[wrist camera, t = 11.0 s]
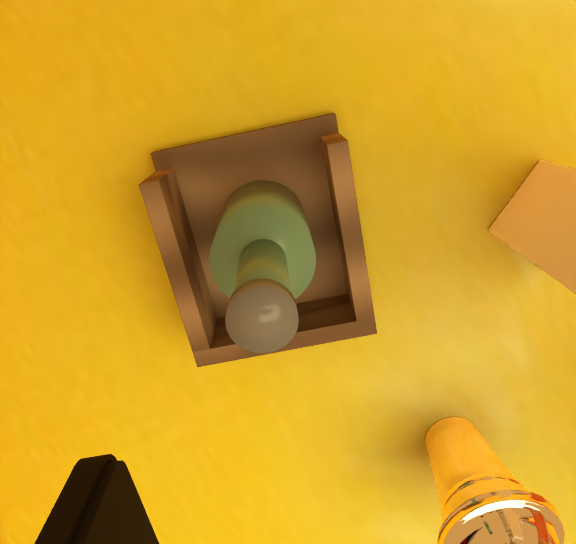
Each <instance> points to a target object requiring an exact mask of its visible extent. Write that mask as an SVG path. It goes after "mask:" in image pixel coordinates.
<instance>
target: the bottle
mask: <svg viewBox="0 0 576 544" xmlns="http://www.w3.org/2000/svg"><path fill="white" fill-rule="evenodd" d="M315 266H316V253H315V248H314V245H313V241H312V238H311V234H310V231H309V227H308V224H307V220H306V217H305V213H304V210H303V207H302V204H301V202H300V201H299V199H298V197H297V196H296V195H295V194H294V193H293V192H292V191H291V190H290V189H289V188H287V187H286V186H284V185H282V184H280V183H277V182H274V181H268V180H258V181H253V182H249V183H247V184H245V185H243V186H241V187H239V188H238V189H237V190H236V191H234V193H233V194H232V195H231V196H230V197H229V199H228V200H227V202H226V204H225V207H224V210H223V213H222V216H221V219H220V222H219V225H218V228H217V231H216V234H215V237H214V240H213V243H212V246H211V250H210V269H211V273H212V276H213V278H214V280H215V282H216V284H217V286H218V287H219V288H220V290H221V291H222V292H223V293H224V294H225V295H226V296H227V297H228V298H230V299H229V301H228V306H227V311H226V318H225V323H226V329H227V332H228V334H229V336H230V337H231V339H232V340H233V341H234V342H235V343H236V344H237V345H238V346H240V347H241V348H243V349H245V350H247V351H250V352H255V353H269V352H273V351H276V350H279V349H281V348H282V347H284V346H285V345H287V344H288V343H289V342H290V341H291V340H292V338H293V337H294V335H295V333H296V331H297V328H298V311H297V305H296V301H295V299H296V298H298V297H299V296H300V295H301V294H302V293H303V292H304V291H305V289H306V288H307V287H308V285H309V284H310V282H311V280H312V278H313V275H314V271H315Z"/></svg>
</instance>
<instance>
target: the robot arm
mask: <svg viewBox="0 0 576 544" xmlns="http://www.w3.org/2000/svg"><path fill="white" fill-rule="evenodd" d="M35 544H159V542H158V540H157V537H156V535H155V533H154V530H153V528H152V525H151V523H150V521H149V518H148V516H147V514H146V511H145V509H144V506H143V504H142V502H141V499H140V497H139V494H138V492H137V490H136V487H135V485H134V482H133V480H132V478H131V475H130V473H129V471H128V468H127V466H126V464H125V462H123V461H117V459H116V458H115V456H113V455H112V454H107V455H101V456H95V457H89V458H83V459H80V460H79V461H78V462H77V463H76V465H75V466H74V468H73V470H72V472H71V474H70V476H69V478H68V480H67V482H66V484H65V486H64V487H63V489H62V491H61V493H60V495H59V497H58V499H57V501H56V503H55V505H54V507H53V509H52V511H51V513H50V515H49V517H48V519H47V521H46V522H45V524H44V526H43V528H42V530H41V532H40V534H39V536H38V538H37V540H36V542H35Z"/></svg>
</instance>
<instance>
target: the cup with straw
mask: <svg viewBox="0 0 576 544" xmlns="http://www.w3.org/2000/svg"><path fill="white" fill-rule="evenodd" d="M425 444H426V447H427V449H428V456H429V460H430V464H431V468H432V472H433V476H434V480H435V485H436V489H437V493H438V497H439V501H440V505H441V517H442V525H441V527H440V530H439V533H438V538H437V544H563V543H564V528H563V524H562V522H561V520H560V516H559V514H558V512H557V510H556V508H555V507H554V506H553V505H552V504H551V503H550V502H549V501H548V500H547V499H545V498H543V497H542V496H540V495H538V494H535V493H533V492H530V491H528V490H527V489H526V488H525V487H524V486H523V485H522V484H521V483H520V482H519V481H518V480H517V479H515V478H514V476H513V475H512V474H511V472H510V471H509V470H508V469H507V467H506V466H505V465H504V463H503V462H502V461H501V459H500V458H499V457H498V456H497V454H496V453H495V452H494V450H493V449H492V448H491V447H490V445H489V444H488V443H487V441H486V440H485V439H484V438H483V436H482V435H481V434H480V433H479V432H478V431H477V430H476V428H475V426H474V425H473V424H472V423H471V422H470V421H468V420H467V419H464V418H460V417H449V418H445V419H442V420H440V421H438V422H437V423H435V424H434V425H433V426H432V427H431V428H430V429H429V430H428V432H427V434H426V438H425Z"/></svg>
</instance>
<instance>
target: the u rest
mask: <svg viewBox="0 0 576 544" xmlns="http://www.w3.org/2000/svg"><path fill="white" fill-rule="evenodd" d="M151 156H152V159H153V162H154V165H155V169H156V172H155V173H153V174H152V175H151V176H150V177H148V178H147V179H146V180H144V181H143V182H142V183H140V184H139V187H140V190H141V193H142V196H143V199H144V202H145V205H146V209H147V212H148V215H149V218H150V221H151V224H152V227H153V230H154V233H155V237H156V240H157V243H158V246H159V249H160V252H161V255H162V258H163V261H164V265H165V268H166V271H167V274H168V277H169V280H170V283H171V286H172V289H173V292H174V296H175V299H176V302H177V305H178V308H179V311H180V314H181V317H182V320H183V324H184V327H185V330H186V333H187V336H188V339H189V342H190V345H191V348H192V351H193V355H194V358H195V361H196V364H197V367H201V366H206V365H212V364H217V363H222V362H228V361H233V360H238V359H244V358H249V357H254V356H260V355H265V354H270V353H276V352H281V351H286V350H292V349H297V348H302V347H308V346H313V345H318V344H323V343H329V342H334V341H339V340H345V339H350V338H355V337H361V336H366V335H371V334H377V330H376V323H375V317H374V310H373V304H372V297H371V291H370V284H369V278H368V271H367V264H366V258H365V251H364V245H363V238H362V232H361V225H360V219H359V212H358V205H357V199H356V192H355V186H354V179H353V173H352V166H351V160H350V153H349V147H348V141H347V140H346V139H345V138H344V137H343V136H342V135H341V134H339V133H338V127H337V120H336V114H335V113H332V114H328V115H323V116H318V117H314V118H309V119H304V120H300V121H295V122H290V123H286V124H281V125H276V126H272V127H267V128H262V129H258V130H253V131H248V132H244V133H239V134H234V135H230V136H225V137H220V138H216V139H211V140H206V141H202V142H197V143H192V144H188V145H183V146H178V147H174V148H169V149H164V150H160V151H155V152H152V153H151ZM258 180H268V181H274V182H277V183H280V184H282V185H284V186H286V187H287V188H289V189H290V190H291V191H292V192H293V193H294V194H295V195H296V196H297V197H298V199H299V201H300V202H301V204H302V207H303V210H304V213H305V217H306V220H307V224H308V227H309V231H310V234H311V238H312V241H313V245H314V248H315V253H316V266H315V271H314V275H313V278H312V280H311V282H310V284H309V285H308V287H307V288H306V289H305V291H304V292H303V293H302V294H301V295H300V296H299V297H298V298H296V299H295V301H296V305H297V311H298V328H297V331H296V333H295V335H294V337H293V338H292V340H291V341H290V342H289V343H288V344H287V345H285V346H284V347H282V348H281V349H279V350H276V351H273V352H269V353H255V352H250V351H247V350H245V349H243V348H241V347H240V346H238V345H237V344H236V343H235V342H234V341H233V340H232V339H231V337H230V336H229V334H228V332H227V329H226V323H225V318H226V311H227V306H228V301H229V299H230V298H228V297H227V296H226V295H225V294H224V293H223V292H222V291H221V290H220V288H219V287H218V286H217V284H216V282H215V280H214V278H213V276H212V273H211V269H210V250H211V246H212V243H213V240H214V237H215V234H216V231H217V228H218V225H219V222H220V219H221V216H222V213H223V210H224V207H225V204H226V202H227V200H228V199H229V197H230V196H231V195H232V194H233V193H234V191H236V190H237V189H238V188H239V187H241V186H243V185H245V184H247V183H249V182H253V181H258Z"/></svg>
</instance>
